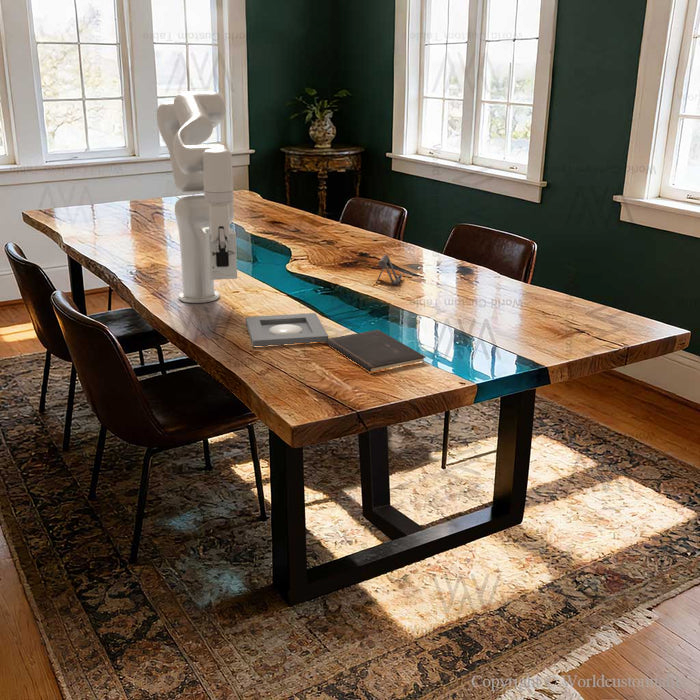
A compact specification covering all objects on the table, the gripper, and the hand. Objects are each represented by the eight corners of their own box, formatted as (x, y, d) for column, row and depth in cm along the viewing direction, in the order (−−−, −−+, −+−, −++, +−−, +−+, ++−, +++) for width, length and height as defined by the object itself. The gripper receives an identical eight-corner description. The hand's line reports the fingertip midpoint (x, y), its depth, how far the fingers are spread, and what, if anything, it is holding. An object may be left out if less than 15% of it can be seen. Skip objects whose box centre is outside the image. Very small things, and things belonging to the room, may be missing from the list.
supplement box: (210, 281, 212) (208, 234, 207) (207, 273, 218) (204, 228, 214) (237, 279, 214) (236, 233, 209) (233, 271, 220) (232, 227, 216)
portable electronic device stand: (397, 286, 262) (398, 262, 259) (374, 285, 264) (375, 260, 261) (401, 279, 270) (402, 255, 267) (378, 278, 272) (379, 254, 269)
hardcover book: (378, 337, 217) (378, 329, 216) (425, 364, 198) (425, 356, 197) (326, 347, 209) (326, 338, 209) (369, 376, 191) (370, 367, 190)
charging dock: (245, 323, 225) (245, 317, 224) (315, 319, 229) (315, 313, 228) (253, 347, 206) (252, 340, 206) (328, 342, 210) (328, 335, 210)
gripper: (202, 191, 215) (206, 254, 222) (205, 204, 199) (209, 271, 206) (230, 191, 217) (233, 253, 223) (235, 203, 201) (238, 270, 207)
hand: (221, 262), depth 214 cm, fingers closed on supplement box, 7 cm apart
